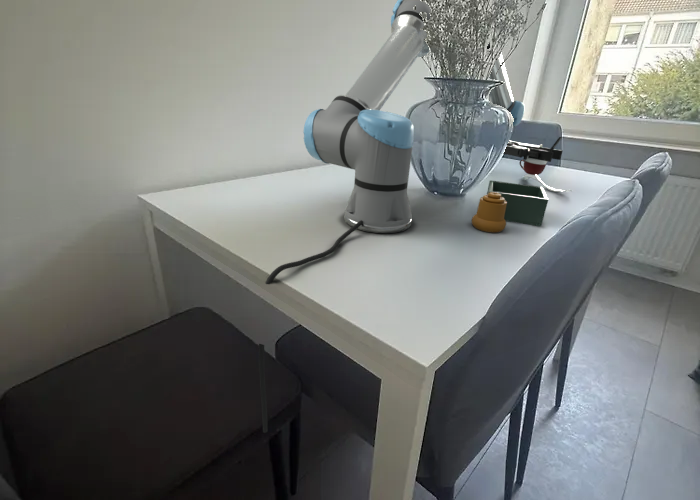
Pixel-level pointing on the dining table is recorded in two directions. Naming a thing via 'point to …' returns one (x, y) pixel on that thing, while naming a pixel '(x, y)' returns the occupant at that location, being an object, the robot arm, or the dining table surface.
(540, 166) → the cocoa
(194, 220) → the dining table surface
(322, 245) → the dining table surface
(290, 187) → the dining table surface
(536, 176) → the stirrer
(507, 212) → the bin
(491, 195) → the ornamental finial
